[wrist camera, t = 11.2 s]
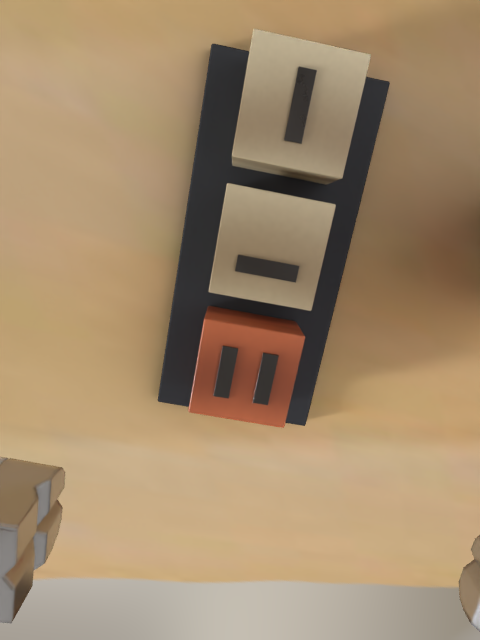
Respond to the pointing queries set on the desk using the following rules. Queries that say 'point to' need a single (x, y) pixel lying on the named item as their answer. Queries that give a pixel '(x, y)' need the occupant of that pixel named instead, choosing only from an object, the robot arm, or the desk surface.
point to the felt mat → (205, 221)
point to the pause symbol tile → (246, 367)
